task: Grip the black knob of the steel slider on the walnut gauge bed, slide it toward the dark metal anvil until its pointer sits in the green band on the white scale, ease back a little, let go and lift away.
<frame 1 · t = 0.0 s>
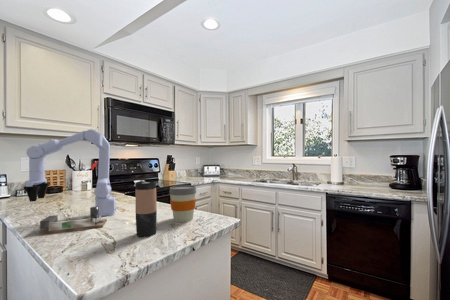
hand: (37, 199, 103), 10 cm above the counter, tool pointing down, fingers open, 7 cm apart
gauge bed: (76, 227, 92), on the counter
reusable coffee cup: (183, 219, 101), on the counter
gauge slider: (93, 214, 93), point 5 cm above the counter, slide at 0.0 cm
travel mug: (146, 234, 82), on the counter
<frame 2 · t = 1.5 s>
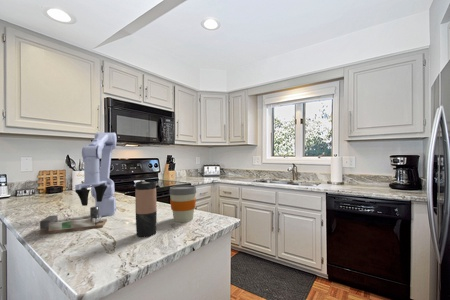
hand: (92, 203, 95), 9 cm above the counter, tool pointing down, fingers open, 7 cm apart
nothing on the counter moved.
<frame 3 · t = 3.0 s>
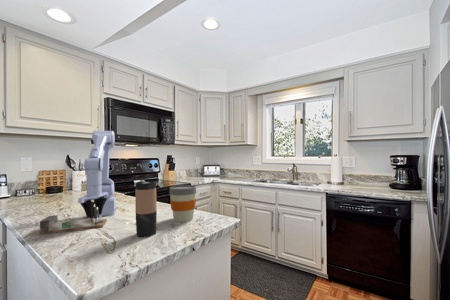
hand: (94, 215, 94), 4 cm above the counter, tool pointing down, fingers open, 4 cm apart
gauge slider: (94, 214, 93), point 5 cm above the counter, slide at -0.1 cm, touching gripper
everything else where it was.
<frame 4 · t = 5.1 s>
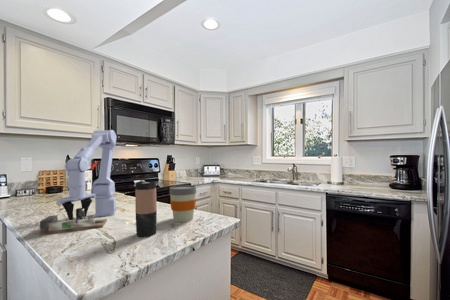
hand: (77, 217, 92), 4 cm above the counter, tool pointing down, fingers open, 5 cm apart
gauge slider: (79, 216, 92), point 5 cm above the counter, slide at 5.3 cm, touching gripper
everything else where it was.
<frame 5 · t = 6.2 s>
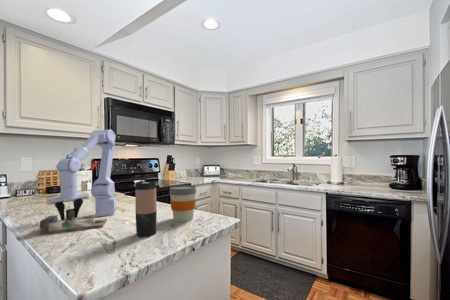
hand: (69, 218, 91), 4 cm above the counter, tool pointing down, fingers open, 4 cm apart
gauge slider: (69, 217, 90), point 5 cm above the counter, slide at 8.9 cm, touching gripper
everything else where it was.
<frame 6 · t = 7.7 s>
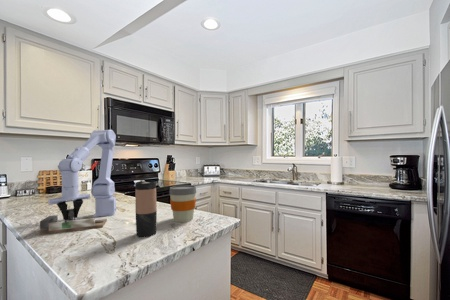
hand: (70, 218, 92), 4 cm above the counter, tool pointing down, fingers closed on gauge slider, 3 cm apart
gauge slider: (69, 217, 90), point 5 cm above the counter, slide at 9.0 cm, touching gripper
everything else where it was.
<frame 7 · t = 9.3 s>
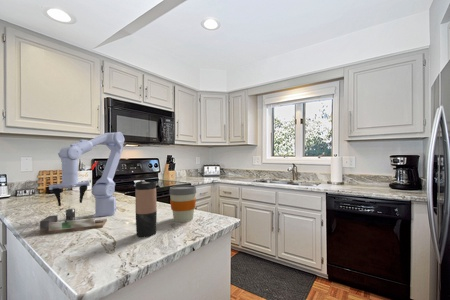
hand: (70, 203, 96), 9 cm above the counter, tool pointing down, fingers open, 7 cm apart
gauge slider: (69, 217, 90), point 5 cm above the counter, slide at 9.0 cm
everything else where it was.
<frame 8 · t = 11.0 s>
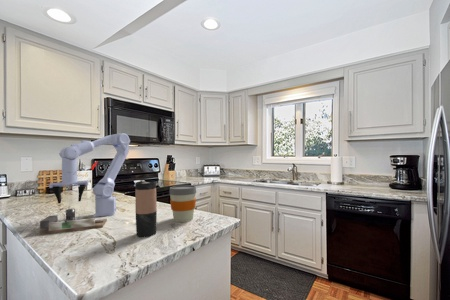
hand: (69, 202, 99), 9 cm above the counter, tool pointing down, fingers open, 7 cm apart
nothing on the counter moved.
at the end: gauge slider slide at 9.0 cm; the gripper is holding nothing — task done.
